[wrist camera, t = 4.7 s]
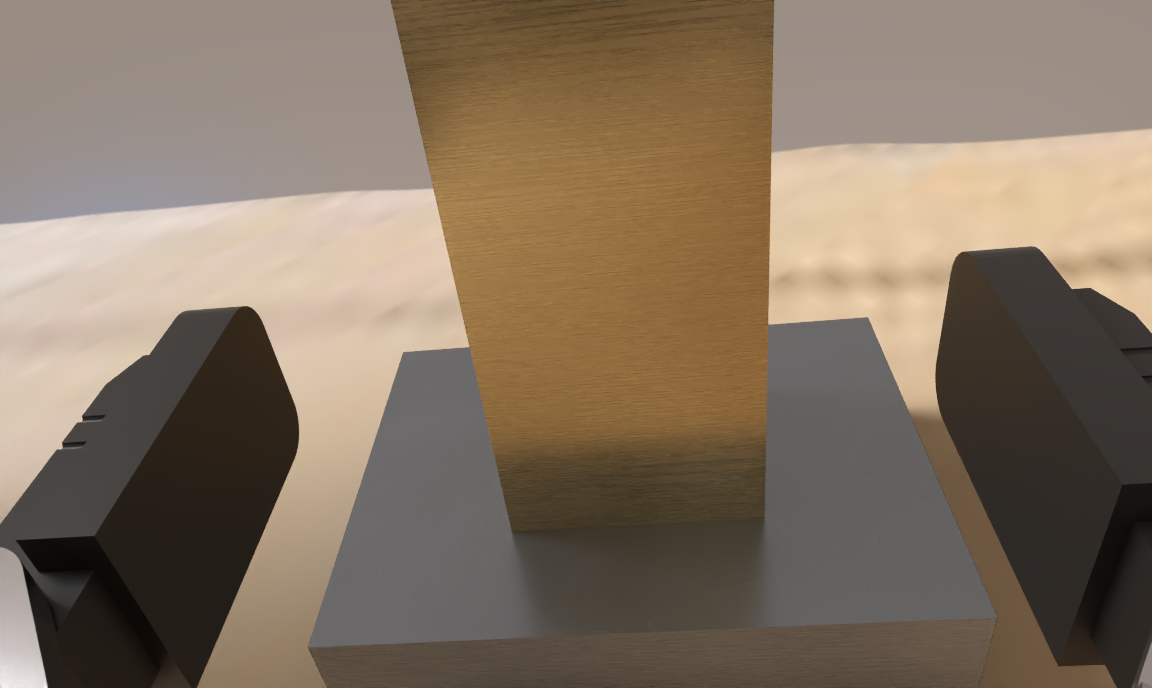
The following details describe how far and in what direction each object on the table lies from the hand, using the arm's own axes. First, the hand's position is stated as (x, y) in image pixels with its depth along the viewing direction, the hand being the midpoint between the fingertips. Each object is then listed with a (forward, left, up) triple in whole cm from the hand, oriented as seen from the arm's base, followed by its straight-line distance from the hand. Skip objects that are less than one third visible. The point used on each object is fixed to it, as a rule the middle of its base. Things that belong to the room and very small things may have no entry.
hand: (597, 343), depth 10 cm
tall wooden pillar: (0, +6, -7) cm, 9 cm away
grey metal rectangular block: (0, +6, -10) cm, 11 cm away
